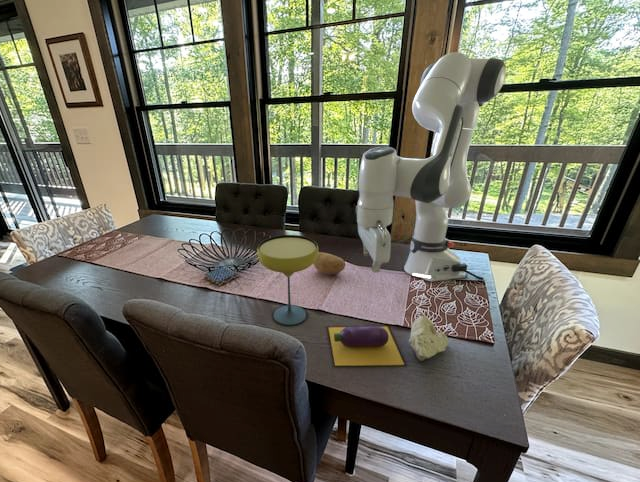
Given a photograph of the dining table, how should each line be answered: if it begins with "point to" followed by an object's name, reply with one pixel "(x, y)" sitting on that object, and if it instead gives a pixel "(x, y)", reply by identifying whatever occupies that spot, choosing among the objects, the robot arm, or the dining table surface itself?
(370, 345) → the eggplant
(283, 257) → the cocktail glass
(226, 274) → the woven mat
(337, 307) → the dining table surface
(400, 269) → the dining table surface
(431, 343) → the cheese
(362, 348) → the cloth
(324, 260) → the potato
